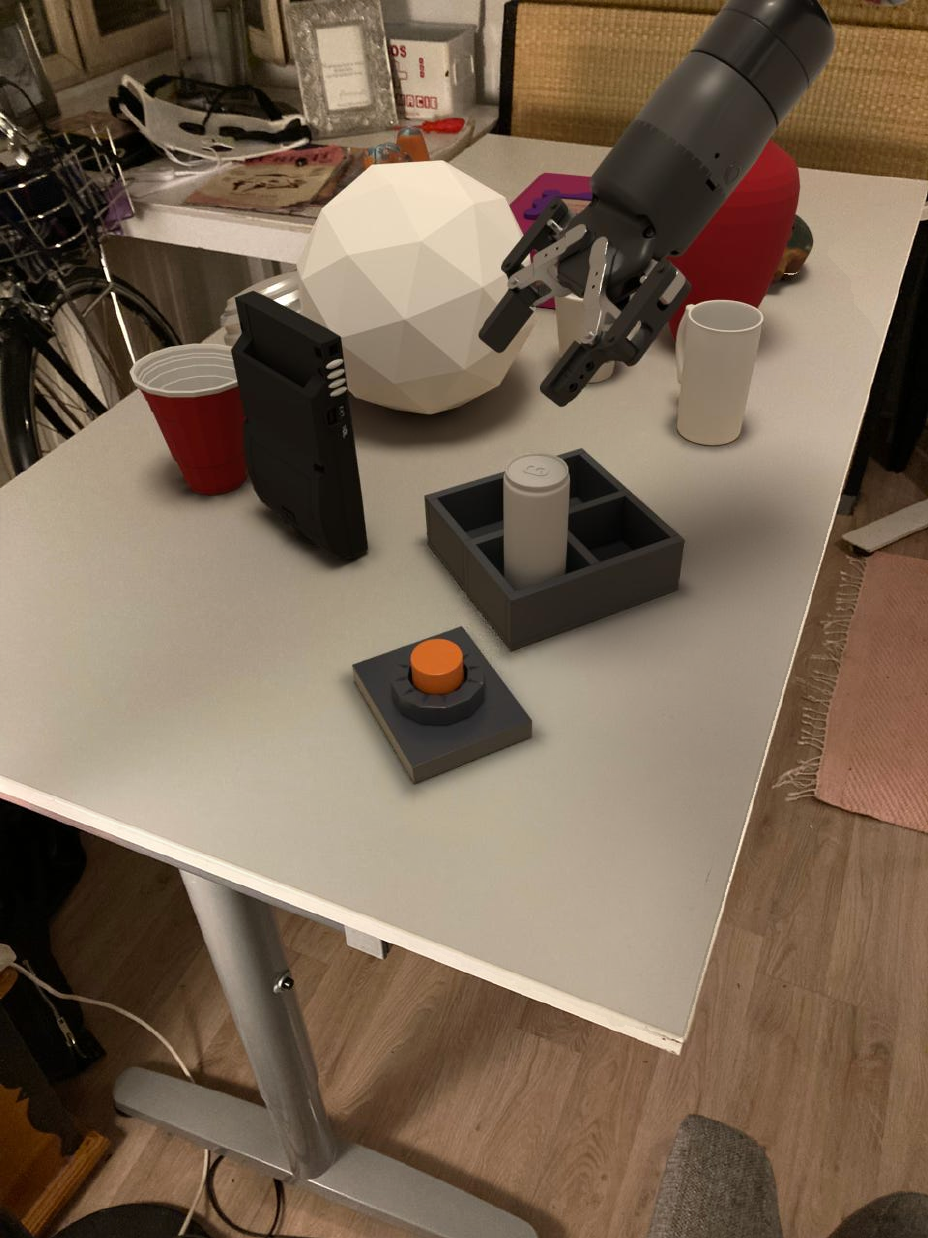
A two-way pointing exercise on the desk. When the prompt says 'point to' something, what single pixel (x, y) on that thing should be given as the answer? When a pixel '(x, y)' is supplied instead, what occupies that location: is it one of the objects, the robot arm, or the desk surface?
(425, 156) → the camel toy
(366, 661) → the panel
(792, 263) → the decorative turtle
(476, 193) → the lamp
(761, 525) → the desk surface
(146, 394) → the plastic cup
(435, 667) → the button
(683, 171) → the robot arm
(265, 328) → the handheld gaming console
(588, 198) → the book
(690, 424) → the mug
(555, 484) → the beverage can
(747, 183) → the vase
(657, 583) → the divided tray
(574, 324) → the dixie cup
